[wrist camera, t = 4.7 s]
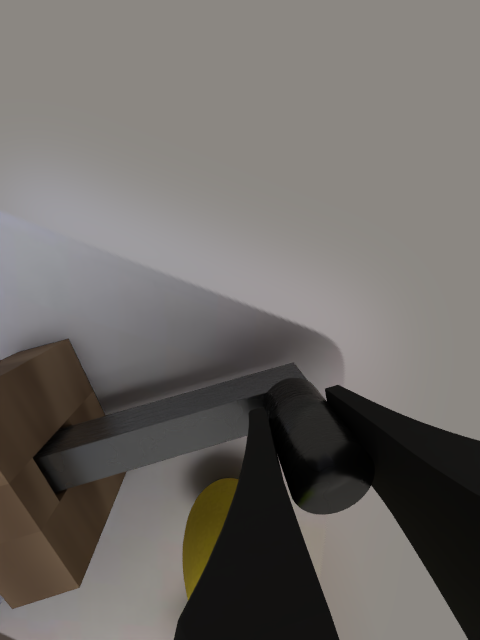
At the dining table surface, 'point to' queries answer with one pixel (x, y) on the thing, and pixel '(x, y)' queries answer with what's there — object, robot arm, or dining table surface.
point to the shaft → (222, 438)
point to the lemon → (205, 528)
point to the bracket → (31, 486)
